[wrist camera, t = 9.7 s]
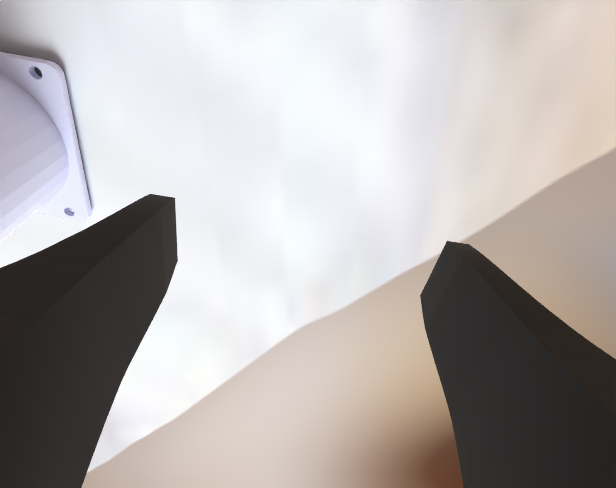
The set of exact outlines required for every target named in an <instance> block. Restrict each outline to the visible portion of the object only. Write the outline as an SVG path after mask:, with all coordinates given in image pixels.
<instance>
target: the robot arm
mask: <svg viewBox="0 0 616 488" xmlns="http://www.w3.org/2000/svg"><path fill="white" fill-rule="evenodd" d="M35 67H37V68H38V69H39V70H40V71H41V73H42V77H40V76H39V75H38V74H37V73H36V72H35ZM69 208H70V209H72V210H73V211H74V212H72V211H70V210H69ZM34 214H40V215H46V216H53V217H60V218H66V219H73V220H80V221H85V220H87V219H88V218H89V217H90V216H91V215H92V210H91V205H90V200H89V195H88V190H87V185H86V180H85V175H84V170H83V165H82V160H81V155H80V150H79V145H78V140H77V135H76V130H75V125H74V120H73V115H72V110H71V105H70V100H69V95H68V90H67V85H66V80H65V75H64V73H63V70H62V69H61V68H60V66H58V65H57V64H56V63H54V62H52V61H48V60H43V59H37V58H32V57H26V56H21V55H15V54H10V53H5V52H0V243H2V242H3V241H4V240H5V239H6V238H7V237H9V236H10V235H11V234H12V233H13V232H14V231H15V230H17V229H18V228H19V227H20V226H21V225H22V224H24V223H25V222H26V221H27V220H28V219H29V218H30V217H32V216H33V215H34ZM177 261H178V259H177V236H176V213H175V198H173V197H166V196H160V195H154V194H149V195H147V196H145V197H143V198H141V199H139V200H137V201H135V202H134V203H132V204H130V205H128V206H126V207H125V208H123V209H121V210H119V211H117V212H116V213H114V214H112V215H110V216H108V217H107V218H105V219H103V220H101V221H99V222H97V223H96V224H94V225H92V226H90V227H88V228H86V229H84V230H83V231H81V232H79V233H76V234H74V235H72V236H70V237H68V238H66V239H64V240H62V241H60V242H58V243H56V244H54V245H52V246H50V247H48V248H46V249H44V250H42V251H40V252H37V253H35V254H33V255H31V256H28V257H26V258H24V259H21V260H19V261H17V262H14V263H12V264H9V265H7V266H4V267H2V268H0V488H81V487H82V484H83V482H84V479H85V476H86V473H87V470H88V467H89V464H90V462H91V459H92V456H93V454H94V451H95V448H96V446H97V443H98V440H99V437H100V435H101V432H102V429H103V427H104V424H105V421H106V419H107V416H108V414H109V411H110V409H111V406H112V404H113V401H114V398H115V396H116V393H117V391H118V388H119V386H120V383H121V381H122V379H123V377H124V375H125V373H126V370H127V368H128V366H129V364H130V362H131V360H132V358H133V356H134V355H135V353H136V351H137V349H138V347H139V345H140V343H141V341H142V339H143V337H144V335H145V333H146V331H147V329H148V328H149V326H150V324H151V322H152V320H153V318H154V316H155V314H156V312H157V310H158V308H159V306H160V304H161V302H162V300H163V298H164V296H165V294H166V292H167V289H168V286H169V284H170V281H171V278H172V275H173V272H174V269H175V266H176V263H177ZM420 296H421V304H422V312H423V318H424V324H425V329H426V333H427V337H428V340H429V344H430V347H431V351H432V354H433V357H434V361H435V364H436V367H437V371H438V374H439V377H440V381H441V384H442V387H443V391H444V394H445V397H446V401H447V404H448V408H449V411H450V416H451V419H452V423H453V429H454V434H455V440H456V445H457V450H458V455H459V460H460V467H461V473H462V479H463V486H464V488H616V359H614V358H613V357H611V356H610V355H609V354H607V353H605V352H604V351H603V350H601V349H600V348H598V347H597V346H595V345H594V344H592V343H591V342H590V341H588V340H587V339H586V338H584V337H583V336H581V335H580V334H579V333H577V332H576V331H575V330H573V329H572V328H571V327H569V326H568V325H567V324H566V323H564V322H563V321H562V320H561V319H559V318H558V317H557V316H555V315H554V314H553V313H552V312H550V311H549V310H548V309H547V308H545V307H544V306H543V305H541V303H539V302H538V301H537V300H536V299H534V298H533V297H532V296H531V295H530V294H528V293H527V292H526V291H525V290H524V289H523V288H521V287H520V286H519V285H518V284H517V283H516V282H514V281H513V280H512V279H511V278H510V277H508V276H507V275H506V274H505V273H504V272H503V271H501V270H500V269H499V268H498V267H497V266H496V265H495V264H493V263H492V262H491V261H490V260H489V259H487V258H486V257H485V256H484V255H482V254H481V253H480V252H479V251H477V250H476V249H474V248H473V247H472V246H470V245H469V244H462V243H457V242H450V241H447V242H446V244H445V246H444V248H443V250H442V253H441V255H440V257H439V259H438V261H437V263H436V265H435V267H434V269H433V271H432V273H431V275H430V277H429V279H428V281H427V283H426V285H425V287H424V289H423V291H422V293H421V295H420Z"/></svg>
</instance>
